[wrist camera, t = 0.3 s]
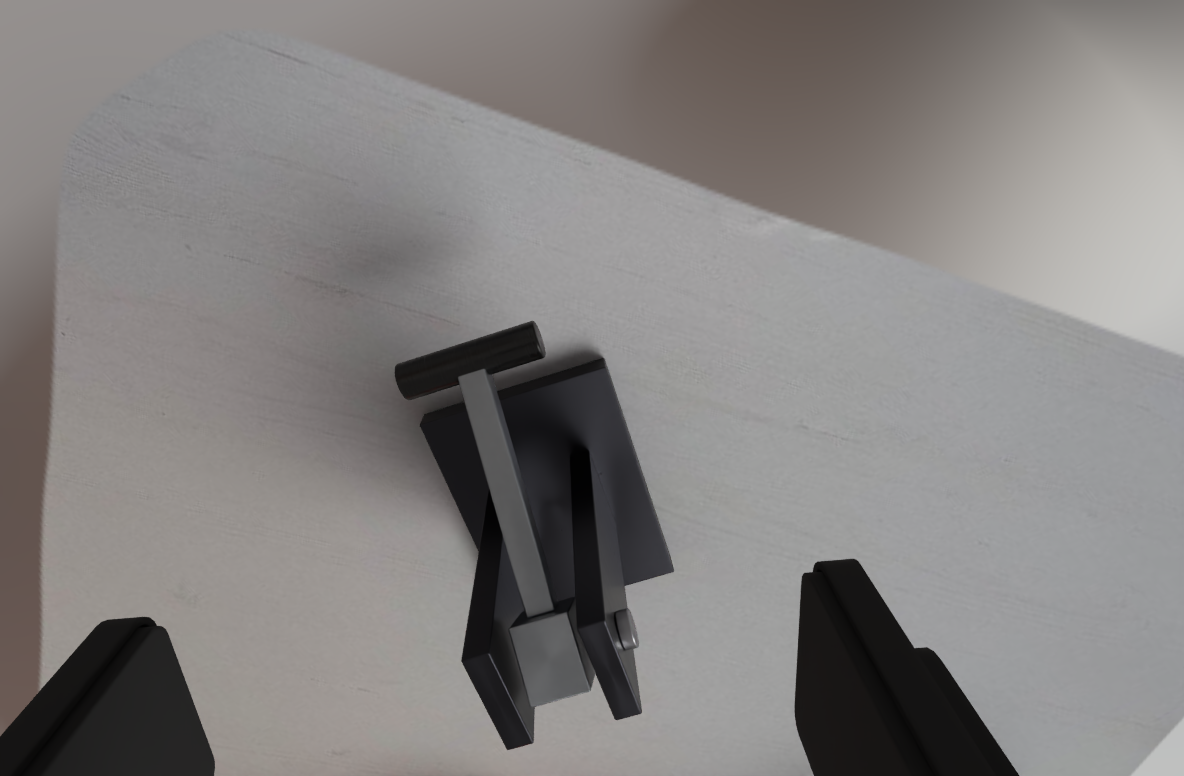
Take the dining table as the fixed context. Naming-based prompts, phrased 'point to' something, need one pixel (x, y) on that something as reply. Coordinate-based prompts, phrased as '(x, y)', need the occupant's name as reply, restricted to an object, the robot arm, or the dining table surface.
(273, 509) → the dining table surface
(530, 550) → the lever
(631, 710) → the bracket
